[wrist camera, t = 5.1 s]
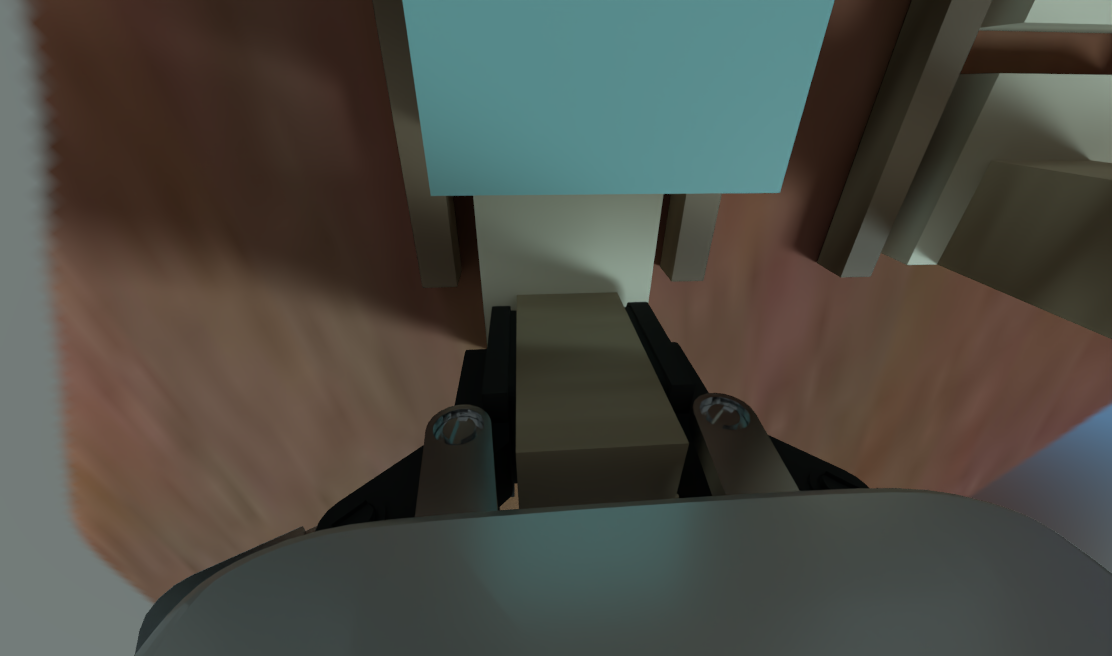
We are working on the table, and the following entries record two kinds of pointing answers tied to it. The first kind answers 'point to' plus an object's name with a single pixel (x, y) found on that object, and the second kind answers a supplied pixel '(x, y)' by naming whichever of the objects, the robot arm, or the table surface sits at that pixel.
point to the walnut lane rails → (851, 243)
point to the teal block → (611, 93)
